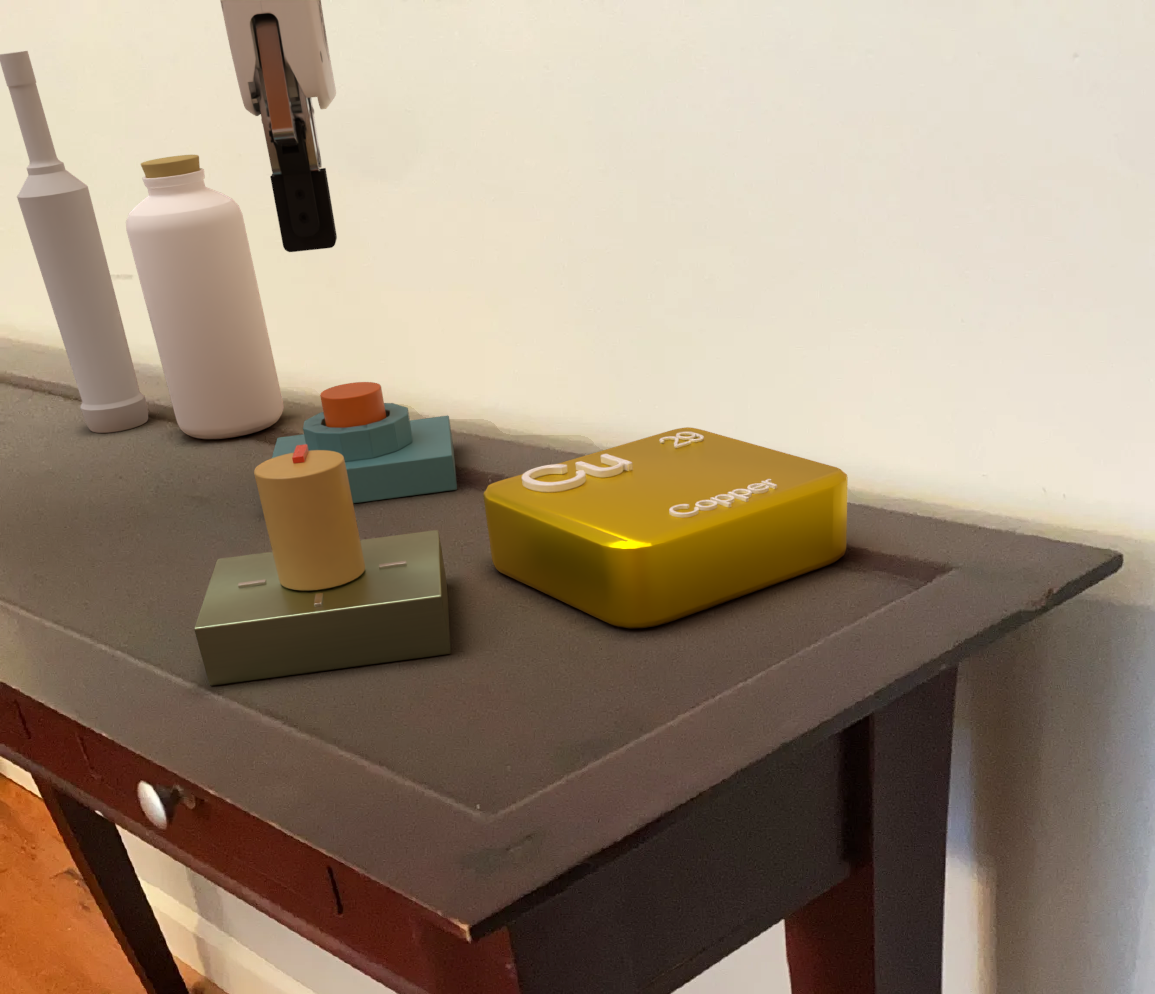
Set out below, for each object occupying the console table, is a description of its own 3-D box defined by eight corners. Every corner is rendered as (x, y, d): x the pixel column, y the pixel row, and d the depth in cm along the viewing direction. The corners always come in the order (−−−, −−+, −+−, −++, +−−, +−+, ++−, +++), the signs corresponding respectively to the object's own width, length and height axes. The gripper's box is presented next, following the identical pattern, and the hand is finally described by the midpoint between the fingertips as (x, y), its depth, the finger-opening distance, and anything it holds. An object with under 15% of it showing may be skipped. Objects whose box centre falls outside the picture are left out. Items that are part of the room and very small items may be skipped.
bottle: (76, 427, 115) (-36, 58, 99) (134, 412, 117) (33, 49, 102) (103, 437, 111) (-9, 56, 96) (161, 420, 114) (61, 46, 98)
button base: (273, 514, 91) (258, 450, 88) (284, 470, 98) (270, 410, 96) (457, 490, 91) (447, 425, 88) (453, 447, 99) (444, 387, 96)
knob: (362, 585, 70) (339, 464, 66) (274, 595, 70) (246, 475, 66) (368, 555, 73) (345, 439, 69) (284, 565, 73) (257, 449, 70)
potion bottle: (307, 413, 111) (251, 146, 100) (245, 444, 105) (180, 165, 94) (222, 411, 114) (160, 153, 103) (158, 442, 108) (85, 172, 97)
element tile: (632, 638, 68) (624, 540, 66) (479, 565, 79) (466, 478, 76) (863, 555, 74) (865, 462, 71) (692, 497, 85) (688, 414, 82)
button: (325, 435, 91) (318, 401, 90) (327, 419, 94) (321, 386, 93) (386, 427, 91) (380, 393, 90) (387, 411, 94) (381, 378, 93)
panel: (209, 686, 69) (192, 625, 67) (230, 612, 77) (215, 555, 75) (451, 654, 69) (441, 592, 67) (447, 583, 77) (437, 526, 75)
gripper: (305, -158, 69) (369, 261, 80) (321, -139, 81) (374, 224, 92) (152, -143, 69) (238, 275, 80) (191, -126, 81) (260, 236, 92)
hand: (311, 247), depth 86 cm, fingers closed
